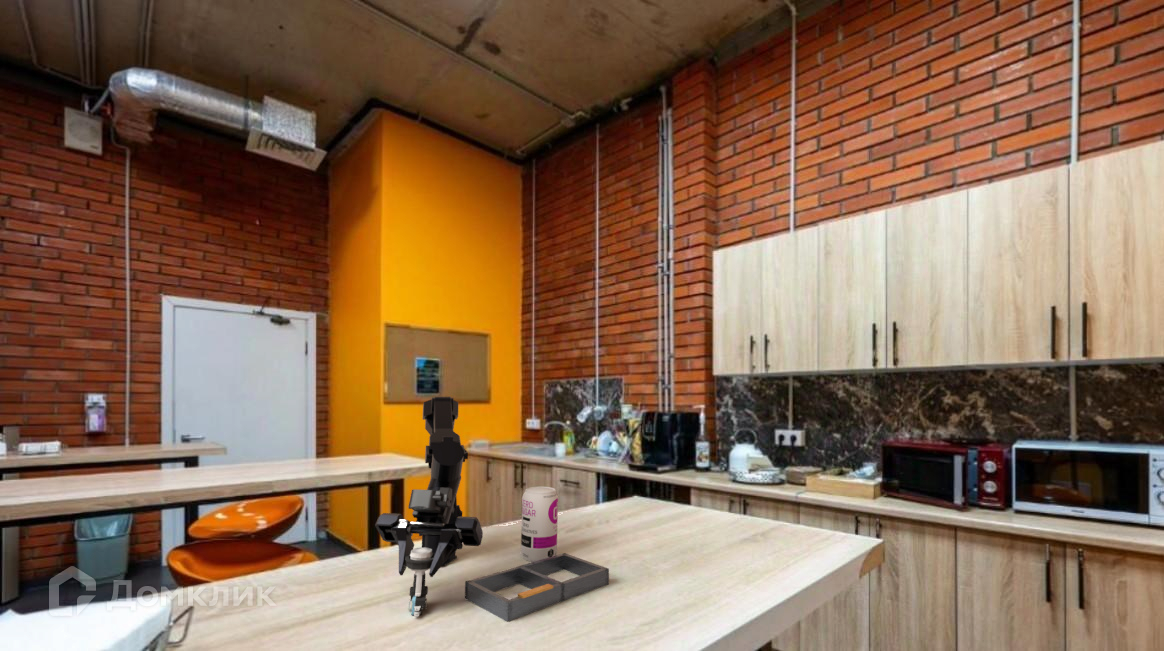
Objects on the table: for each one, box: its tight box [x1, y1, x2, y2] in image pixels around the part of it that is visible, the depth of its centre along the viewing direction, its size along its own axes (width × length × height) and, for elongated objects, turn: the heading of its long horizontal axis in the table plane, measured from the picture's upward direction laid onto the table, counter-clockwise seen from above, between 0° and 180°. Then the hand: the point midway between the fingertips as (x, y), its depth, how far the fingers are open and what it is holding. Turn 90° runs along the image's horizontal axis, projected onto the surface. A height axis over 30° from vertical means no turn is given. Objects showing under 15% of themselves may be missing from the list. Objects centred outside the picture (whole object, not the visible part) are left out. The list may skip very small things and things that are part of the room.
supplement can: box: [520, 486, 559, 563], centre depth 126 cm, size 8×8×15 cm
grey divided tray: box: [464, 552, 610, 622], centre depth 105 cm, size 13×25×3 cm, turn 135°
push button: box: [405, 546, 435, 618], centre depth 96 cm, size 7×5×10 cm
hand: (415, 574), depth 94 cm, fingers closed on push button, 5 cm apart
